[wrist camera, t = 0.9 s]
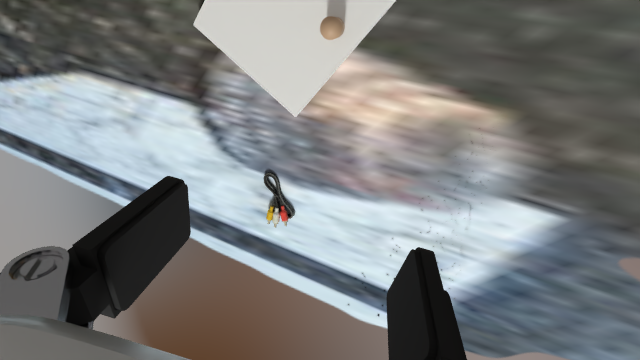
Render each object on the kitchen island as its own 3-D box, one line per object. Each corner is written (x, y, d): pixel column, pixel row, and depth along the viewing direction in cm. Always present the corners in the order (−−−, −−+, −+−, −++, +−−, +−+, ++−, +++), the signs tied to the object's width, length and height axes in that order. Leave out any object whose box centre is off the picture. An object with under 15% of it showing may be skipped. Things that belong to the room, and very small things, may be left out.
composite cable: (263, 170, 43) (257, 178, 41) (291, 172, 42) (287, 180, 40) (270, 218, 48) (265, 227, 46) (296, 221, 47) (292, 230, 45)
